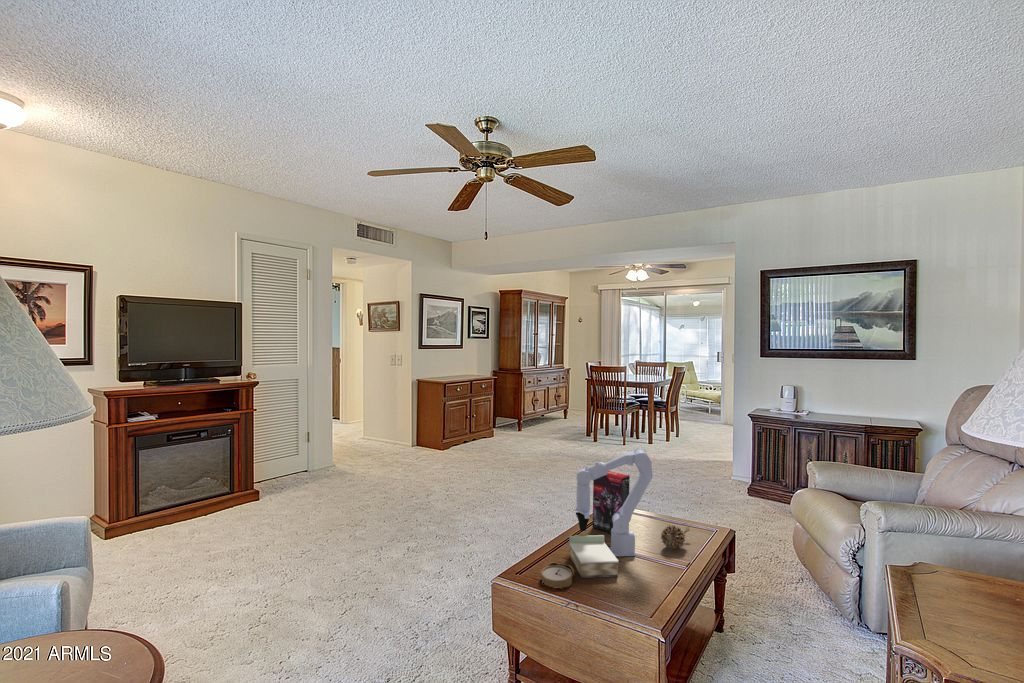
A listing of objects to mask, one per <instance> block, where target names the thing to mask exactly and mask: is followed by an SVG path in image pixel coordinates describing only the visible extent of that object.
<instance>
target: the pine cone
mask: <svg viewBox="0 0 1024 683" xmlns="http://www.w3.org/2000/svg"><path fill="white" fill-rule="evenodd" d="M688 532H691V529H690V527H689V526H686V527H685V528H684V530H682V529H681V528H680V527H676V525H670V524H668V525H666V527H664V528H662V531H660V535H661V536H660V540H661V543H663V545H665V547H666V548H668V549H672V550H673V549H679V548H681V546H683V545H684V543H685V541H686V539H685V538H686V535H685V534H687V533H688Z"/></svg>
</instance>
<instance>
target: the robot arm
mask: <svg viewBox="0 0 1024 683" xmlns="http://www.w3.org/2000/svg"><path fill="white" fill-rule="evenodd" d="M625 465H628V466H632V467H634V465H635V466H636V468H637V470H638V472H639V476H638V477H637V479H636V480H635V482H634V484H633V486H632V488H631V489H630V490H629V495H628V497H627V499H626V500H625V502H624V504H623V506H622V507H621V508H620V509H619V511H618V512H617V513H615V514H614V515H613V517H612V522H613V528H612V529H611V533H610V534H611V537H610V547H608V548H609V549H610V550H611V552H612V553H613V554H614V556H615V557H635V556H636V537H635V533H634V531H633V530H630V522H631V520H632V517H633V516H632V515H633V513H634V512H635V510H636V508H637V506H638V504H639V502H640V501H641V499H642V497H643V495H644V494H645V492H646V490H647V489H648V487H649V485H650V483H651V481H652V479H653V468H652V467H653V466H652V461H651V459H650V457H649V455H648V453H647V451H646V450H644V449H643V448H637V449H635V450H631V451H628V452H626V453H624V454H621V455H620V456H618V457H615V458H612V459H611V460H609V461H607V462H602V461H600V462H599V461H596V462H595V464H592V465H589V466H585V467H584V468H580V469H579V470H577V473H576V480H577V482H576V502H575V503H576V506H575V507H573V511H574V512H575V515H576V517H577V520H578V525H579V526H578V527H579V530H580V532H586V530H587V527H588V523H589V520H590V519H591V514H590V513H591V486H590V483H591V481H593V480H595V479H597V478H600V477H602V476H605V475H607V472H608V471H611V470H614V469H617V468H619V467H622V466H625ZM628 528H629V530H628Z"/></svg>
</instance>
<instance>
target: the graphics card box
mask: <svg viewBox="0 0 1024 683" xmlns="http://www.w3.org/2000/svg"><path fill="white" fill-rule="evenodd" d="M630 477H631V476H630V474H629V475H628V474H623V473H619V472H615V471H611V470H609V471H608V472H607V475H605V476H602V477H600V478H597V479H595V480H592V482H593V484H592V487H593V489H592V526H591V527H592V528H594V529H597V530H600V531H603V532H606V533H609V534H611V529H612V528H613V522H612V517H613V515H614V514H615V513H617V512H618V511H619V509H620V508H621V507H622V506H623V504H624V502H625V500H626V499H627V497H628V495H629V493H630ZM628 530H629V531H630V527H629V528H628Z"/></svg>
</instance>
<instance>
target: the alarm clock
mask: <svg viewBox="0 0 1024 683" xmlns="http://www.w3.org/2000/svg"><path fill="white" fill-rule="evenodd" d="M574 575H575V570H574V567H573V566H571V565H570V564H566V563H558V562H555V561H553V562H550V563H549V564H548V566H545V567H543V568H542V569H541V571H540V576H541V579H540V581H541V580H542V582H541V584H543V583H544V584H546V585H548V586H551V587H558V588H559V587H566V588H568V587H570V586H571V585H572V584H573V577H574ZM544 584H543V585H544ZM567 586H568V587H567Z"/></svg>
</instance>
